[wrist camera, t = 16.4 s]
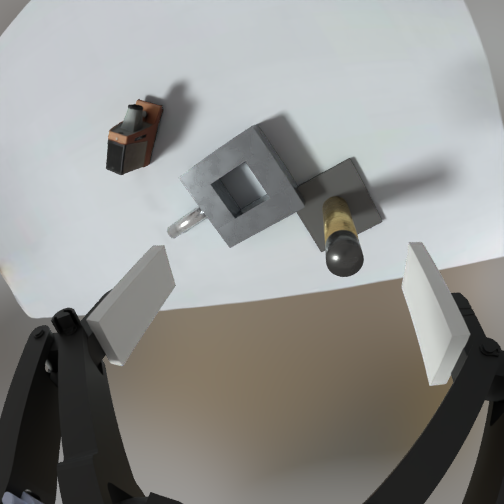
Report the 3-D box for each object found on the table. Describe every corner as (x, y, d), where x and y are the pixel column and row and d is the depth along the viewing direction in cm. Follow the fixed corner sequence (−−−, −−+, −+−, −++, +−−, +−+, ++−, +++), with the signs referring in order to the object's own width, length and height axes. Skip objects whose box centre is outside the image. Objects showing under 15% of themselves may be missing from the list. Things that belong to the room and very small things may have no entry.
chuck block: (256, 124, 36) (251, 126, 33) (305, 198, 40) (305, 207, 37) (152, 199, 44) (141, 207, 41) (196, 259, 48) (189, 270, 45)
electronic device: (166, 105, 37) (138, 109, 30) (150, 166, 42) (123, 180, 35) (141, 98, 37) (110, 101, 30) (127, 157, 42) (98, 170, 35)
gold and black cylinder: (322, 195, 39) (327, 243, 27) (348, 196, 38) (365, 243, 26) (322, 220, 40) (325, 276, 28) (347, 221, 40) (361, 277, 28)
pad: (349, 158, 36) (350, 158, 35) (381, 220, 39) (382, 221, 38) (285, 193, 40) (285, 194, 40) (321, 250, 43) (321, 252, 43)
